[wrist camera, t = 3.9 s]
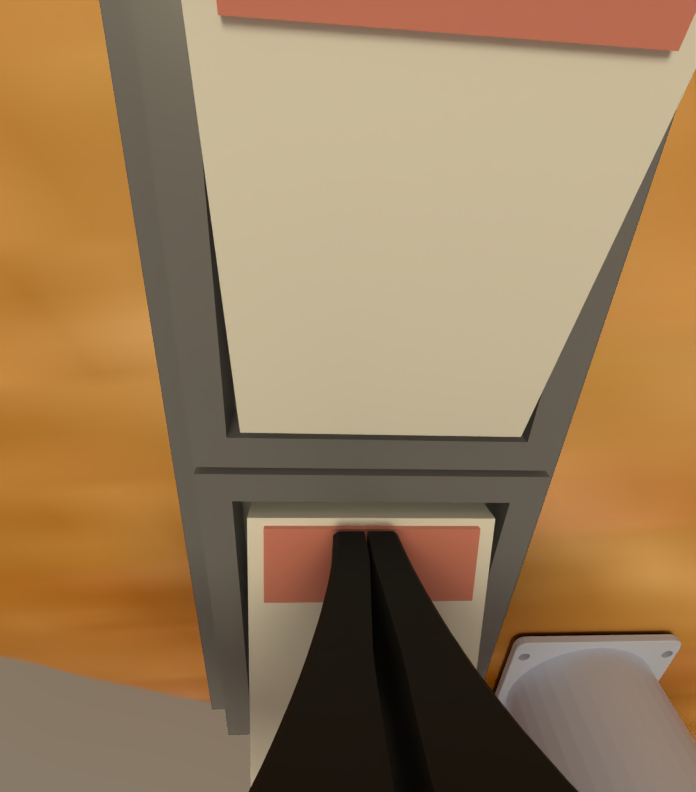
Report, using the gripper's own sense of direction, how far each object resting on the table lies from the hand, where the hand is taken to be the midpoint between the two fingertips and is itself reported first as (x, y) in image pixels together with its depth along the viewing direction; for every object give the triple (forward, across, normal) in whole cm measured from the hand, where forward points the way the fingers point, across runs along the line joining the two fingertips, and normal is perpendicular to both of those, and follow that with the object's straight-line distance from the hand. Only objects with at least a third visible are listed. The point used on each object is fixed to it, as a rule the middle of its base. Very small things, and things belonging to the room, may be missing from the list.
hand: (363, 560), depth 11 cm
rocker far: (0, 0, +4) cm, 4 cm away
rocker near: (0, 0, -8) cm, 8 cm away
